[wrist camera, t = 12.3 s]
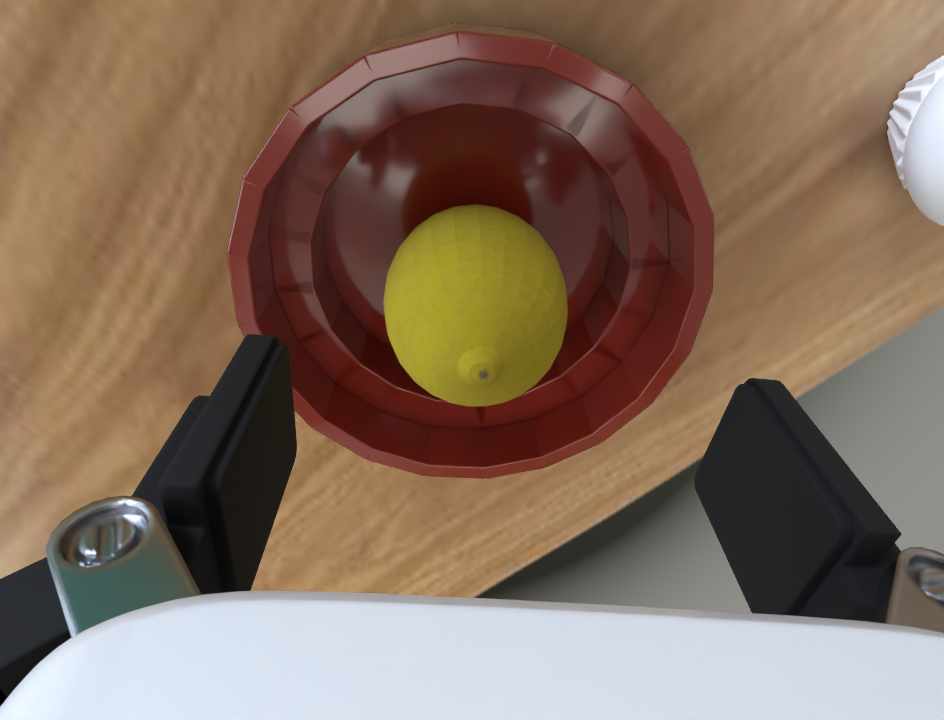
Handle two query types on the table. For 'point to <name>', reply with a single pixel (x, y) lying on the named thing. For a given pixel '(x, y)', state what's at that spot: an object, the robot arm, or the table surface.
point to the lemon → (475, 305)
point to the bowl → (466, 183)
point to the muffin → (921, 139)
